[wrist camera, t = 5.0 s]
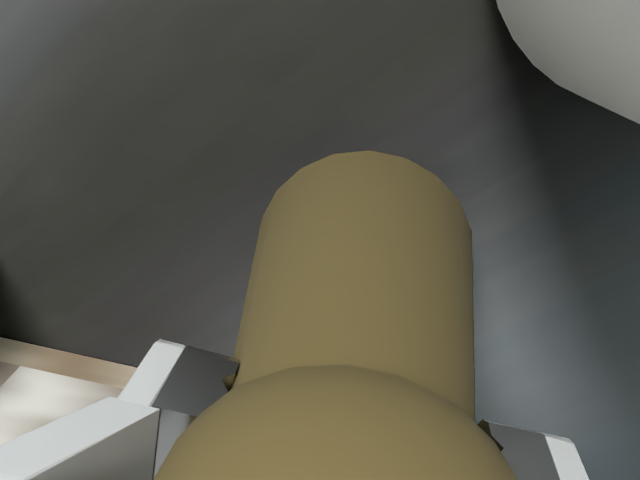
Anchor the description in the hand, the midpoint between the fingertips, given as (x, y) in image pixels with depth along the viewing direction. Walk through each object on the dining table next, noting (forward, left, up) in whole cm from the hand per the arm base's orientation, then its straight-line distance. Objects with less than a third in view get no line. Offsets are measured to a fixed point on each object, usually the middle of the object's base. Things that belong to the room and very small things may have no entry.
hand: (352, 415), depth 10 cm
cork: (0, 0, -7) cm, 7 cm away
